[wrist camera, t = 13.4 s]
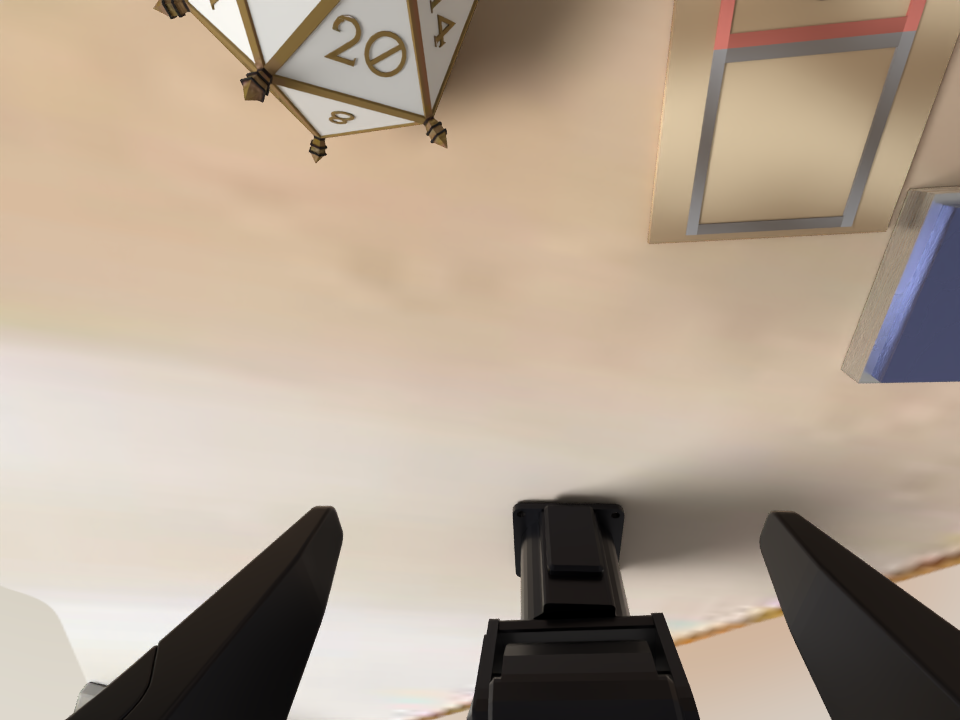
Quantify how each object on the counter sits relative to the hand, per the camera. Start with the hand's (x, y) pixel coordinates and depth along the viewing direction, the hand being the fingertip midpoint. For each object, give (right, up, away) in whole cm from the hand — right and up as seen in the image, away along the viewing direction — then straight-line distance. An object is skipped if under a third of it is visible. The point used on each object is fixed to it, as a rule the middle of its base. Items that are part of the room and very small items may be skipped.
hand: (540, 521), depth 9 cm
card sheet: (+10, +14, +6) cm, 18 cm away
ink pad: (+19, +7, +9) cm, 22 cm away
